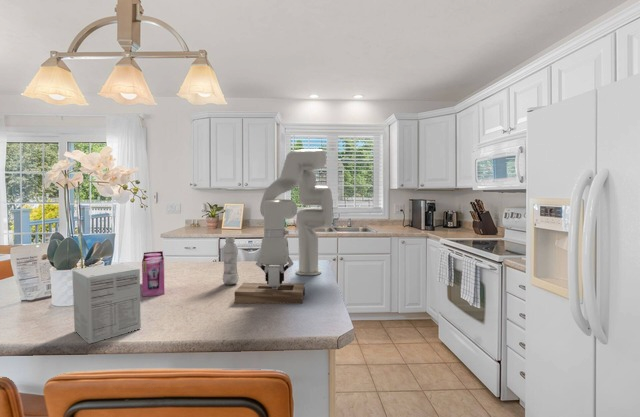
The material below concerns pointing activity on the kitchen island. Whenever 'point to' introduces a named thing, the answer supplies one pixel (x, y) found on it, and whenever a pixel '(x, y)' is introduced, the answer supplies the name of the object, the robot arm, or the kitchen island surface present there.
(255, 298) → the keyhole plate
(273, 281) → the steel peg
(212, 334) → the kitchen island surface
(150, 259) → the gum box
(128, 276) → the supplement box
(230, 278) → the plastic bottle
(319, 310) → the kitchen island surface
